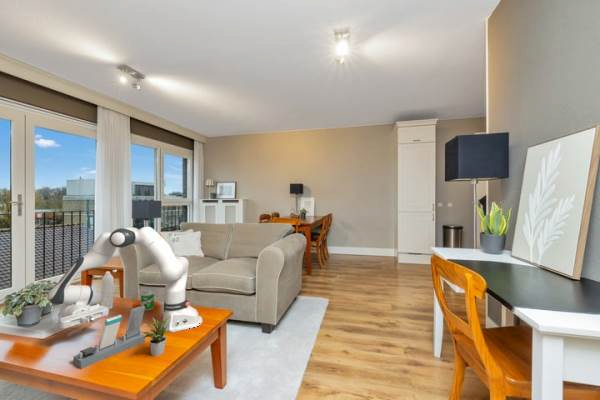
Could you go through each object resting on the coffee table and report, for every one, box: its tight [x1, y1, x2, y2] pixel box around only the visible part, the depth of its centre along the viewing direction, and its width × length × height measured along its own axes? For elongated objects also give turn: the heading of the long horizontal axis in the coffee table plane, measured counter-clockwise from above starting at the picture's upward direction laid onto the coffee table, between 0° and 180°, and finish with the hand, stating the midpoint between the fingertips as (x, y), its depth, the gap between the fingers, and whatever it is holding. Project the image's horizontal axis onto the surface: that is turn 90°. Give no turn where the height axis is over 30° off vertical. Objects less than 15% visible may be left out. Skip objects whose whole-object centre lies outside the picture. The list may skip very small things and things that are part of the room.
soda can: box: [140, 290, 155, 312], centre depth 178 cm, size 8×8×12 cm
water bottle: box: [100, 269, 118, 310], centre depth 179 cm, size 9×6×25 cm
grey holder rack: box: [72, 328, 146, 370], centre depth 127 cm, size 27×8×5 cm, turn 149°
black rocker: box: [79, 346, 97, 355], centre depth 119 cm, size 4×6×1 cm, turn 59°
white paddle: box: [98, 314, 123, 349], centre depth 123 cm, size 6×2×16 cm, turn 149°
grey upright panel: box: [124, 305, 145, 339], centre depth 134 cm, size 6×2×16 cm, turn 149°
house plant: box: [139, 316, 173, 357], centre depth 128 cm, size 14×14×16 cm
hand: (91, 320), depth 133 cm, fingers closed
